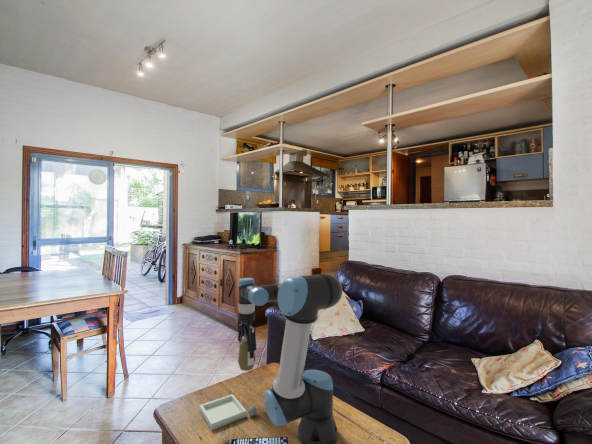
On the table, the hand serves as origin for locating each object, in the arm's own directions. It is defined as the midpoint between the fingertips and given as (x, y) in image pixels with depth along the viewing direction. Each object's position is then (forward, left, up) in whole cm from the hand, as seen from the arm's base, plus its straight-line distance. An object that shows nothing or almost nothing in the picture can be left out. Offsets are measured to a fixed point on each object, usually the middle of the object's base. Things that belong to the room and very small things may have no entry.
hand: (246, 361), depth 139 cm
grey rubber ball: (-13, +3, -17) cm, 22 cm away
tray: (-5, +13, -17) cm, 22 cm away
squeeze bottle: (0, 0, -3) cm, 3 cm away
